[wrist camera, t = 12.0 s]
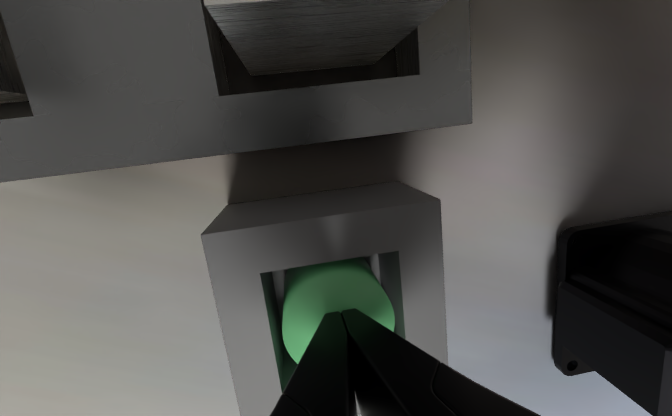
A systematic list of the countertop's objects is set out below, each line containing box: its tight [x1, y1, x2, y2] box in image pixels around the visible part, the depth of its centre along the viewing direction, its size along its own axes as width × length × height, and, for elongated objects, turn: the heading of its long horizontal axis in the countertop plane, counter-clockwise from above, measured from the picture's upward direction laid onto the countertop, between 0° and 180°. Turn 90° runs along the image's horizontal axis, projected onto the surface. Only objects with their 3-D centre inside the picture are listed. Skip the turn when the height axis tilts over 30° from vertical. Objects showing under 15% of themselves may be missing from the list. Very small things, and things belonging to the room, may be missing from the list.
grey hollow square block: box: [201, 181, 448, 416], centre depth 11 cm, size 6×6×4 cm
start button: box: [282, 257, 395, 364], centre depth 10 cm, size 3×3×2 cm
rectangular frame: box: [0, 0, 472, 182], centre depth 9 cm, size 18×8×2 cm, turn 97°
